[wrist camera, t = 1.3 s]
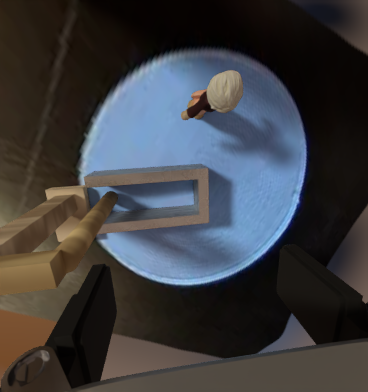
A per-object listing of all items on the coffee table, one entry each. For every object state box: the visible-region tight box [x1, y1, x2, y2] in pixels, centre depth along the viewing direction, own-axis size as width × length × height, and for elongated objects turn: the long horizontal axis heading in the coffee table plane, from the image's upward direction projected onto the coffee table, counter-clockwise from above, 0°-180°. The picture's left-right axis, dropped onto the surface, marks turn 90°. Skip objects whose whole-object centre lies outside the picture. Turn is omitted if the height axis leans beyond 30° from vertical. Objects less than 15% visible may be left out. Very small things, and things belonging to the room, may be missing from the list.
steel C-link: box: [84, 164, 209, 234], centre depth 30 cm, size 16×8×4 cm, turn 93°
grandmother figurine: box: [181, 70, 243, 120], centre depth 23 cm, size 8×4×13 cm, turn 128°
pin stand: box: [0, 185, 118, 295], centre depth 22 cm, size 8×10×19 cm
